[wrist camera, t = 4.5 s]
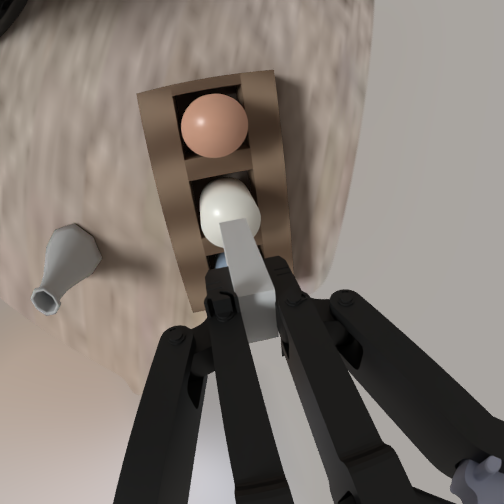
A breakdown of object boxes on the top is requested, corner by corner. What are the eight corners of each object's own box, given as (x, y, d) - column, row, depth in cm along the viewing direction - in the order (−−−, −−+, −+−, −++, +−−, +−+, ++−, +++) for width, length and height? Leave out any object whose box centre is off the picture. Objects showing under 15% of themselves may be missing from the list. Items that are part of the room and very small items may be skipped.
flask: (75, 212, 30) (40, 256, 21) (112, 259, 33) (92, 313, 25) (38, 243, 30) (3, 291, 22) (74, 285, 34) (50, 339, 25)
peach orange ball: (179, 100, 24) (175, 100, 20) (234, 90, 24) (243, 88, 20) (188, 151, 26) (187, 163, 22) (242, 142, 27) (252, 151, 22)
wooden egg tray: (143, 93, 25) (136, 93, 22) (263, 72, 26) (273, 69, 23) (192, 291, 38) (193, 312, 34) (285, 272, 39) (294, 291, 35)
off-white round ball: (195, 182, 28) (195, 199, 24) (246, 172, 28) (257, 187, 24) (205, 229, 30) (207, 253, 26) (253, 219, 31) (263, 241, 27)
